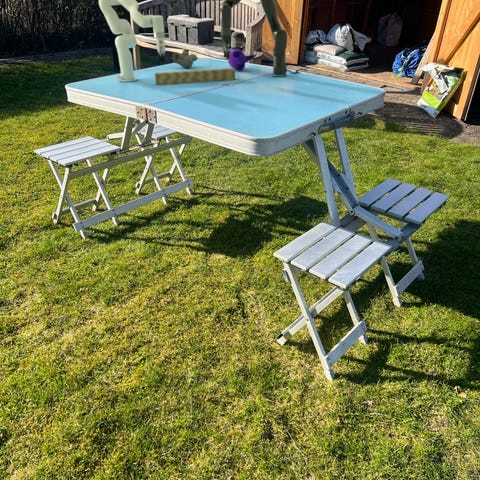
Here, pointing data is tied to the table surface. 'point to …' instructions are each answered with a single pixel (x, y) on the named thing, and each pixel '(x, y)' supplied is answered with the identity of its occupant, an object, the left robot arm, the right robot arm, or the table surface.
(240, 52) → the toy
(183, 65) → the teapot
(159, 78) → the bar
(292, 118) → the table surface
